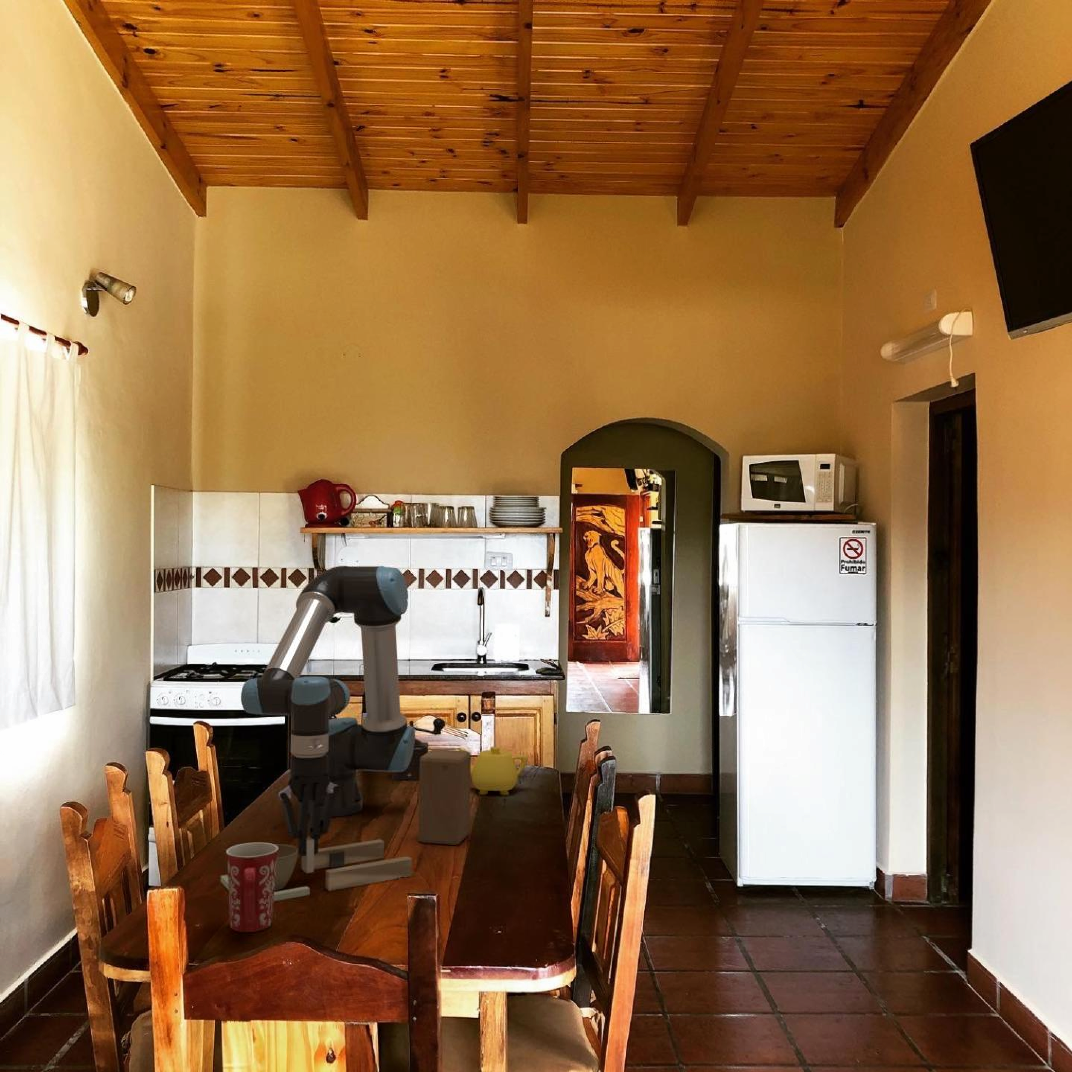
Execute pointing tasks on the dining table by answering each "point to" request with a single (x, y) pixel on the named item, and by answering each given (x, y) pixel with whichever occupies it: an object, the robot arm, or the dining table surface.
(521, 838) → the dining table surface
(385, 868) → the twin plank rack
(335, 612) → the robot arm
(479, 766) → the teapot
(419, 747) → the manual coffee grinder
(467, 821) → the wooden block
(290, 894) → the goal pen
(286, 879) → the flower pot
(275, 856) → the mug
